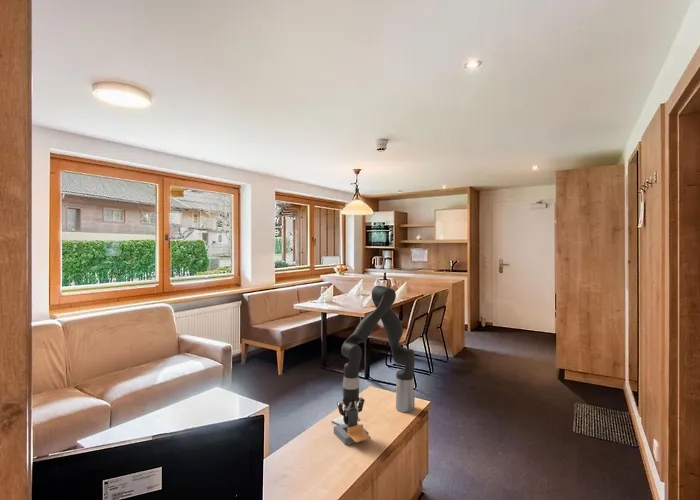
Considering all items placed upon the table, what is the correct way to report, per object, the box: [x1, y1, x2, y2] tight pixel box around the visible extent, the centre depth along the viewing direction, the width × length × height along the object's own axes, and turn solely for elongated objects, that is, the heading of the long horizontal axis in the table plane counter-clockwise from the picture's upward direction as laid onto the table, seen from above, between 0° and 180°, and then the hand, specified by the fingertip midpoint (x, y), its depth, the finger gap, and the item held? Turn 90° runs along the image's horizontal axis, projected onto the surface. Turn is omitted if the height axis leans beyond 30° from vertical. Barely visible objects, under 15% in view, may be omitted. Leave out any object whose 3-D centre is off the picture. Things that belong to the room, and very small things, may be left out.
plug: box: [344, 408, 358, 427], centre depth 173 cm, size 4×4×8 cm
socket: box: [333, 422, 369, 446], centre depth 173 cm, size 12×12×3 cm
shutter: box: [348, 423, 371, 443], centre depth 166 cm, size 8×8×3 cm
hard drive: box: [330, 415, 361, 426], centre depth 188 cm, size 2×8×12 cm
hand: (350, 422), depth 173 cm, fingers closed on plug, 4 cm apart
